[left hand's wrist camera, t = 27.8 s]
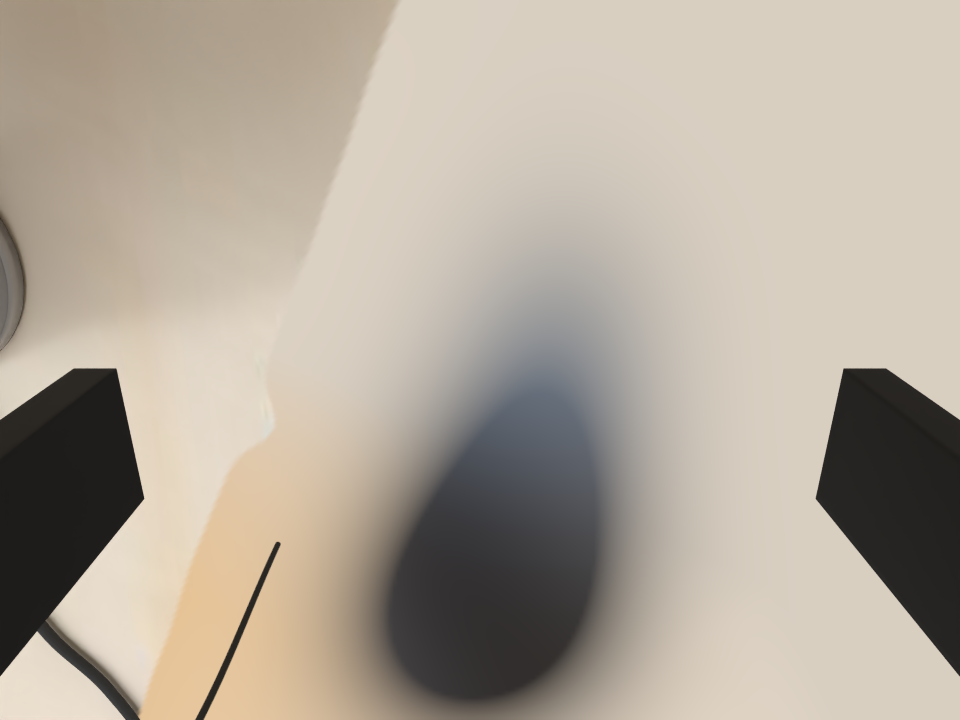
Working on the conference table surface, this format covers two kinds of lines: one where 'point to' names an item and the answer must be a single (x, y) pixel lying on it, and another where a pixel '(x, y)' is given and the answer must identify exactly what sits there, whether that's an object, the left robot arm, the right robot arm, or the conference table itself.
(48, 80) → the conference table surface
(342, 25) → the conference table surface
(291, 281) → the conference table surface
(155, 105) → the conference table surface
